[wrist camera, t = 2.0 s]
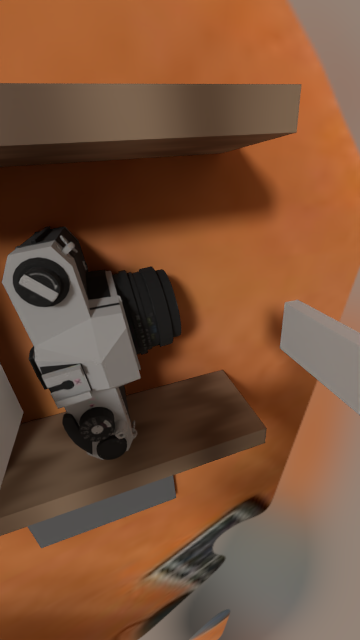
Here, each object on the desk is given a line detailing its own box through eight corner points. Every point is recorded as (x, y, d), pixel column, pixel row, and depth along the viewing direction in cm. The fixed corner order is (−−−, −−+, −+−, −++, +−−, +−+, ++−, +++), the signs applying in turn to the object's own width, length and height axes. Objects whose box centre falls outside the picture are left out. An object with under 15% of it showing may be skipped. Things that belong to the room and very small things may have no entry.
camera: (180, 364, 23) (227, 444, 15) (90, 398, 22) (89, 506, 14) (137, 204, 18) (175, 194, 10) (13, 234, 16) (-63, 252, 8)
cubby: (-15, 449, 21) (-57, 555, 15) (-206, 139, 11) (-530, 81, 5) (222, 382, 25) (265, 442, 19) (221, 124, 16) (301, 84, 10)
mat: (42, 541, 27) (41, 548, 26) (-5, 465, 21) (-7, 472, 21) (174, 492, 30) (176, 497, 30) (163, 416, 25) (165, 420, 24)
